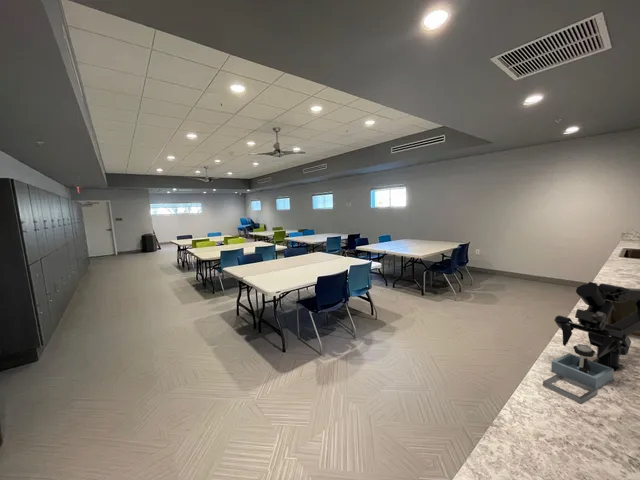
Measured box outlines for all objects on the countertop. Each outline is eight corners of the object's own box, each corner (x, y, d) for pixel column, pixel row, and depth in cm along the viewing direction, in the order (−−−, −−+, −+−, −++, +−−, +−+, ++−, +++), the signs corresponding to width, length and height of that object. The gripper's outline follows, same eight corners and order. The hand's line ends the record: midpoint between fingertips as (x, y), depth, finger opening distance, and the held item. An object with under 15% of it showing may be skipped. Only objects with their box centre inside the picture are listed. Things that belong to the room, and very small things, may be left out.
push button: (588, 381, 90) (590, 353, 89) (567, 373, 95) (569, 346, 94) (595, 374, 94) (597, 347, 93) (575, 367, 98) (577, 341, 97)
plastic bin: (568, 363, 102) (569, 353, 102) (613, 380, 91) (613, 368, 91) (551, 371, 97) (551, 361, 97) (595, 390, 87) (596, 378, 86)
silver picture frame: (559, 377, 94) (559, 373, 94) (597, 393, 85) (597, 389, 85) (542, 385, 90) (542, 381, 90) (581, 404, 81) (581, 399, 81)
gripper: (557, 294, 102) (540, 328, 99) (629, 309, 85) (611, 350, 82) (568, 310, 106) (551, 344, 103) (638, 327, 89) (621, 368, 86)
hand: (580, 350), depth 93 cm, fingers open, 9 cm apart
